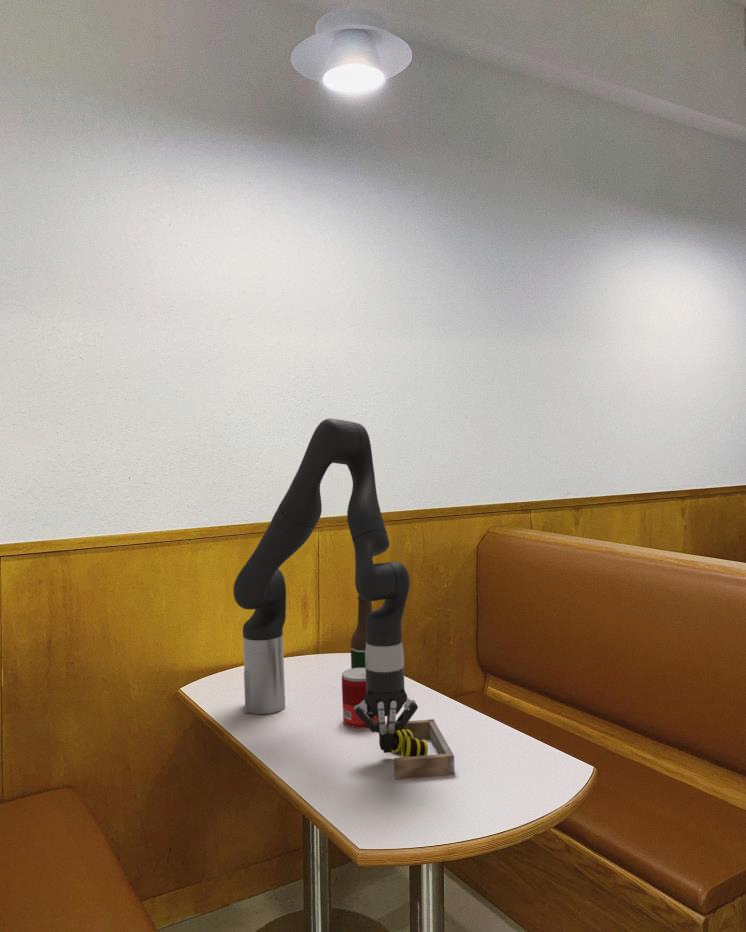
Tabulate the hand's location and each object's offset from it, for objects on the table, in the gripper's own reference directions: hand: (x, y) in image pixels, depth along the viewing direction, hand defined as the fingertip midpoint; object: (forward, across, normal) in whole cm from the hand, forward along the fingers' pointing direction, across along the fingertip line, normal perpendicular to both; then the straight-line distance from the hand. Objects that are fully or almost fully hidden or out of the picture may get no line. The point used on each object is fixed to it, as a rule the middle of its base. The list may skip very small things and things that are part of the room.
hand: (386, 750), depth 154 cm
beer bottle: (+2, -1, -40) cm, 40 cm away
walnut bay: (+2, -5, 0) cm, 5 cm away
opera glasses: (+2, -4, -2) cm, 5 cm away
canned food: (+2, +3, -20) cm, 20 cm away
